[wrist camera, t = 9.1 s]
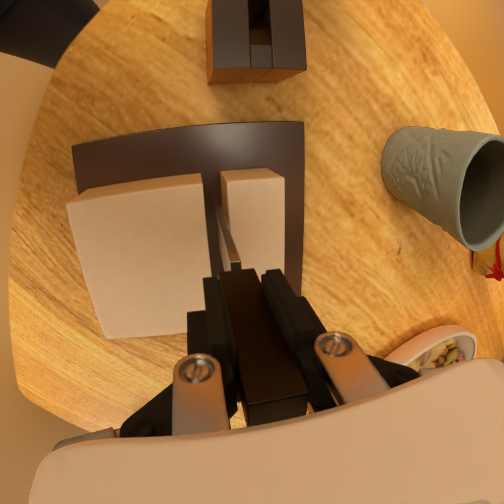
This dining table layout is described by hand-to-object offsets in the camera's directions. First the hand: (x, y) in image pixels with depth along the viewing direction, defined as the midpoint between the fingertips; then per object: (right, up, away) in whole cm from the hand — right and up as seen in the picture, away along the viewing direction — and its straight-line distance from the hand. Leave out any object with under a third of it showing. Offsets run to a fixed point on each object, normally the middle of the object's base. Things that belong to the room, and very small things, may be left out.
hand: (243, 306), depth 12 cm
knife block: (-1, +19, +9) cm, 21 cm away
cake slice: (0, +4, +15) cm, 15 cm away
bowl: (+29, -22, +34) cm, 49 cm away
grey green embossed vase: (+17, +12, +16) cm, 27 cm away
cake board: (-5, +3, +15) cm, 16 cm away
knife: (-2, +4, +9) cm, 11 cm away
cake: (-9, +3, +13) cm, 16 cm away
